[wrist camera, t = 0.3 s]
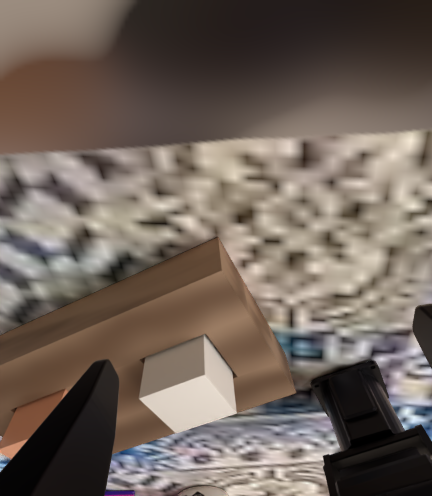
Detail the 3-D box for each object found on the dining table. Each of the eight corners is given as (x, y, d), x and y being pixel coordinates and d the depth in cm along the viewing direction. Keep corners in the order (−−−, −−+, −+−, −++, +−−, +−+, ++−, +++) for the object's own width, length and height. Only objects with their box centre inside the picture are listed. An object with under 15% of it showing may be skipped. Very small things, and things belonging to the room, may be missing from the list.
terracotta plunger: (104, 416, 28) (93, 460, 25) (58, 432, 29) (43, 477, 26) (66, 386, 26) (49, 430, 23) (18, 404, 27) (-4, 450, 24)
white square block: (232, 370, 26) (236, 413, 23) (178, 389, 27) (176, 433, 24) (203, 332, 23) (204, 374, 21) (145, 355, 24) (138, 398, 21)
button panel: (285, 353, 30) (296, 393, 27) (72, 429, 35) (59, 471, 32) (218, 236, 23) (221, 270, 20) (-37, 351, 28) (-68, 394, 25)
